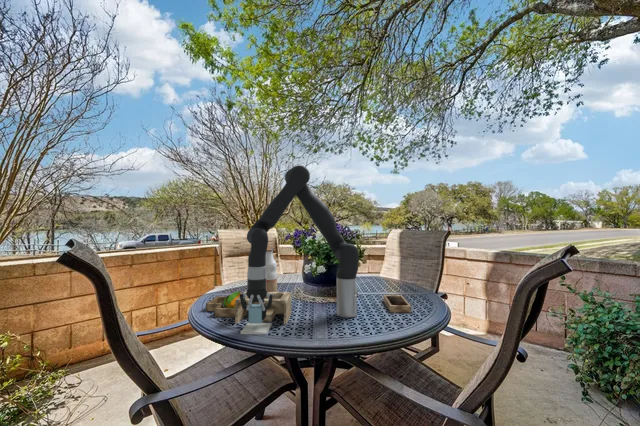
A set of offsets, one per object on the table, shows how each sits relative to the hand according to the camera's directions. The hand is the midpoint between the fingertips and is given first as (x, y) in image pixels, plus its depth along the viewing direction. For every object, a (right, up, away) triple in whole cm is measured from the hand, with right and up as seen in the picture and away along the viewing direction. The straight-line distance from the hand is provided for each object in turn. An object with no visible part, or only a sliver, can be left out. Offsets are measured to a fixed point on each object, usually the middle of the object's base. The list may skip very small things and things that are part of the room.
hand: (256, 318), depth 116 cm
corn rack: (-15, -5, +29) cm, 33 cm away
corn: (-18, -5, +30) cm, 35 cm away
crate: (+1, -4, +13) cm, 14 cm away
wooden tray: (+65, -5, +30) cm, 72 cm away
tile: (0, -4, 0) cm, 4 cm away
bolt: (+64, -5, +30) cm, 71 cm away
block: (0, -1, 0) cm, 1 cm away
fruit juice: (-3, -5, +41) cm, 42 cm away
